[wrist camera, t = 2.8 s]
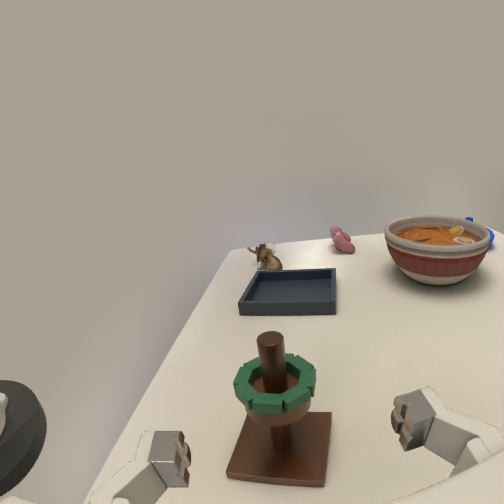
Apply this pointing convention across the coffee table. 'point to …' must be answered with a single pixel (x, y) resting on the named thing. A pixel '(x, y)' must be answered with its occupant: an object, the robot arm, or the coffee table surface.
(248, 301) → the tray
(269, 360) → the peg stand
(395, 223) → the bowl
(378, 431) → the coffee table surface
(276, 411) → the ring
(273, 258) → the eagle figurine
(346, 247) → the video game controller
